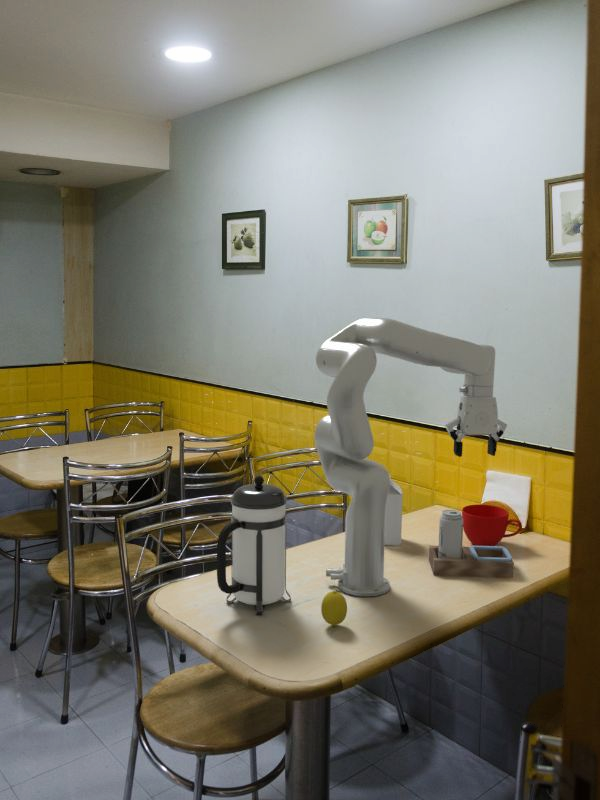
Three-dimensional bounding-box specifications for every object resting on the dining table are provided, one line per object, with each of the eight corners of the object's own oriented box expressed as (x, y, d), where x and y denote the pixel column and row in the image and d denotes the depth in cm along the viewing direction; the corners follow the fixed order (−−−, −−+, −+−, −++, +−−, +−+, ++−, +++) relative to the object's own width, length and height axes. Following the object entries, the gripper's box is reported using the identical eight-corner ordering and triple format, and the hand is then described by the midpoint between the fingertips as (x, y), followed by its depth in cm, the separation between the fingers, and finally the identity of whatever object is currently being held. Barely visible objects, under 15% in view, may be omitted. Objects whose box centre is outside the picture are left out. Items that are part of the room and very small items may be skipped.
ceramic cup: (514, 558, 201) (516, 522, 199) (454, 547, 209) (455, 512, 208) (526, 544, 212) (527, 510, 210) (468, 534, 220) (469, 502, 219)
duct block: (433, 575, 188) (434, 558, 187) (428, 559, 199) (429, 543, 198) (513, 577, 187) (514, 560, 186) (503, 562, 197) (504, 545, 197)
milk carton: (400, 538, 216) (402, 475, 213) (401, 546, 209) (403, 481, 206) (375, 537, 217) (377, 474, 214) (375, 545, 210) (377, 480, 207)
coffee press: (225, 588, 178) (224, 467, 174) (291, 589, 178) (292, 468, 174) (216, 620, 161) (215, 486, 156) (290, 621, 161) (291, 487, 156)
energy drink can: (435, 563, 196) (437, 509, 193) (457, 563, 196) (460, 509, 194) (441, 572, 190) (443, 516, 188) (464, 572, 190) (466, 515, 188)
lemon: (319, 620, 161) (320, 586, 160) (345, 620, 161) (345, 585, 160) (322, 632, 156) (322, 596, 154) (348, 631, 156) (349, 595, 155)
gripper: (454, 393, 189) (450, 459, 191) (515, 393, 193) (511, 457, 195) (442, 390, 196) (438, 453, 198) (501, 389, 200) (497, 451, 202)
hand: (474, 455), depth 197 cm, fingers open, 9 cm apart
